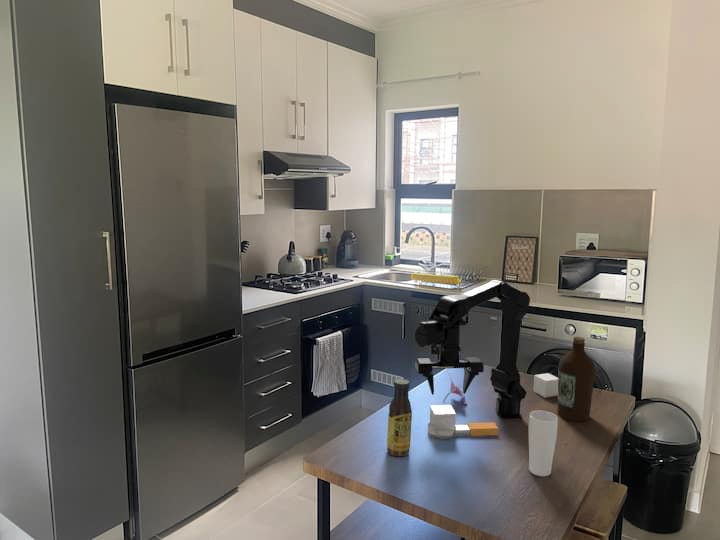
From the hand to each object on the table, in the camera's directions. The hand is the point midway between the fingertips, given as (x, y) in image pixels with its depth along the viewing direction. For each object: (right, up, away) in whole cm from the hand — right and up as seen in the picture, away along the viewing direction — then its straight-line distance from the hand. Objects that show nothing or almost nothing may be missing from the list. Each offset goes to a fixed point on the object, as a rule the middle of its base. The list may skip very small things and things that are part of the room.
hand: (448, 393), depth 153 cm
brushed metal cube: (-2, -9, 0) cm, 10 cm away
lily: (+6, -8, +24) cm, 26 cm away
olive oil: (+41, -10, +14) cm, 45 cm away
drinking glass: (+20, -15, -19) cm, 32 cm away
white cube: (+39, -7, +31) cm, 51 cm away
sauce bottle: (-15, -14, -10) cm, 22 cm away
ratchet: (+4, -12, +1) cm, 13 cm away
